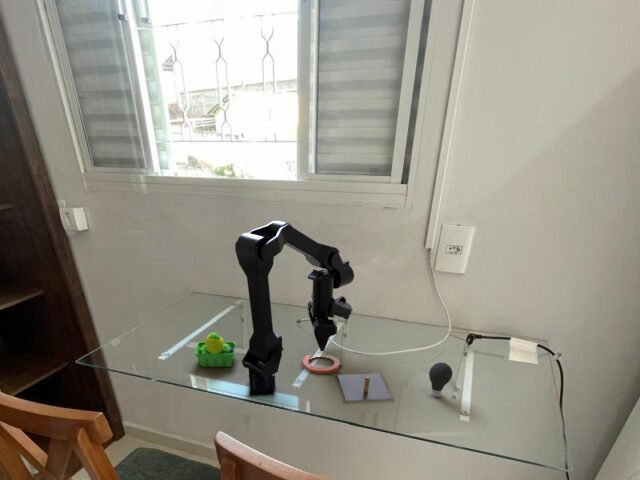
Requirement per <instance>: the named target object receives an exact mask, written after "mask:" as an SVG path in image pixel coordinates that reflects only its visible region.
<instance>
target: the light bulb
mask: <svg viewBox="0 0 640 480" xmlns="http://www.w3.org/2000/svg"><path fill="white" fill-rule="evenodd" d="M428 377H429V381H430V383H431V384H430V385H431V390H430V395H431V396H432V397H434V398H439V397H440V396H441V394H442V391H443V389H444V387H445V386H446V385H447V384H448V383H449V382H450V381H451V380H452V378H453V369H452V367H451V366H450V365H449V364H448V363H446V362H437V363H435V364H433V365H432V366H431V368H429V372H428Z"/></svg>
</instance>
